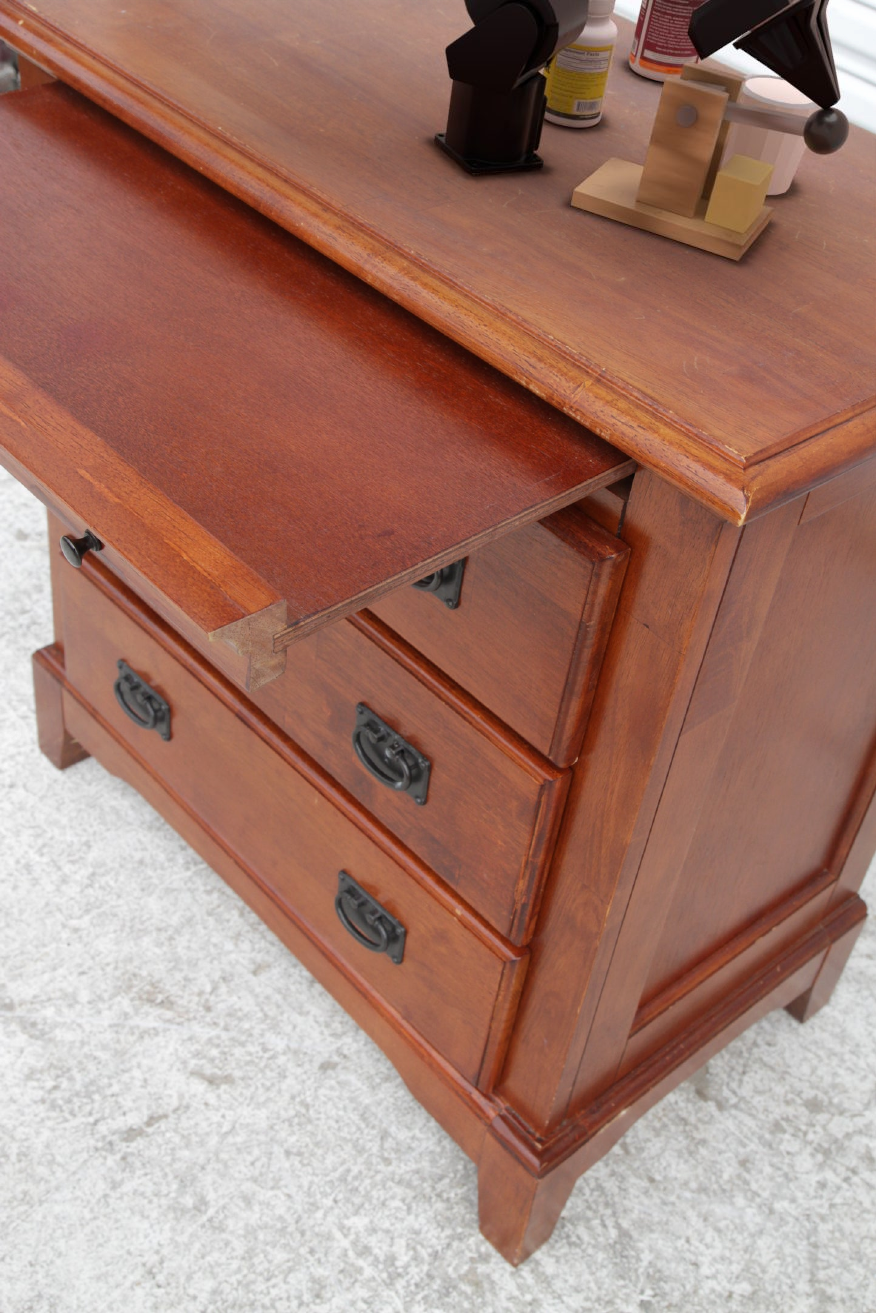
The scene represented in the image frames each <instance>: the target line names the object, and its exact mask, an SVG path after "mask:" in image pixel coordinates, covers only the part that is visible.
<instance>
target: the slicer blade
mask: <svg viewBox="0 0 876 1313" xmlns="http://www.w3.org/2000/svg"><path fill="white" fill-rule="evenodd" d="M687 81H689V82H692V83H695V84H699V85H702V86H705V87H709V88H712V89H715V90H719V91H722V92H725V91H726V87H724V86H719V85H714V84H709V83H704V82H699V81H694V80H689V79H688V80H687ZM722 120H726V121H731V122H735V123H740V124H745V125H750V126H755V127H760V128H764V129H769V130H774V131H779V132H784V133H788V134H793V135H798V136H803V138H804V141H805V144H806V145H807V146H806V148H808V149H809V150H810V151H811V152H812V153H813V154H816V155H820V156H826V155H832V154H834V153H836V152H838V151H839V150H840V149H841V148H842V147H843V146H844V145H845V143H846V142H847V140H848V137H849V136H850V122H849V119H848V117H847V115H846V114H845V113H844V112H843V111H841V109H838V108H837V107H833V106H831V107H830V108H828V109H822V108H821V109H818V110H817V111H815V112H814V113H812V114H811V115H810V116H809V117H805V116H800V115H795V114H790V113H785V112H780V111H775V110H770V109H765V108H761V107H756V106H751V105H746V104H741V103H736V102H731V101H727V104H726V108H725V112H724V115H723V119H722Z"/></svg>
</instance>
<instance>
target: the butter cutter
mask: <svg viewBox="0 0 876 1313" xmlns="http://www.w3.org/2000/svg"><path fill="white" fill-rule="evenodd" d="M688 79H689V80H694V81H699V82H704V83H709V84H714V85H719V86H724V87H726V91H725V92H722V91H719V90H715V89H712V88H709V87H705V86H702V85H699V84H695V83H692V82H689V81H687V80H688ZM745 81H746V78H743V77H742V76H739V75H737V74H732V73H729V72H726V71H723V70H719V69H716V68H712V67H709V66H706V65H703V64H699V63H698V64H696V63H693V62H689V61H687V62H686V63H685V64H684V65H683V68H682V72H681V76H680V79H679V78H675V77H672V76H669V77H667V78H666V79H665V81H664V82H663V86H662V90H661V94H660V98H659V102H658V106H657V111H656V115H655V119H654V123H653V127H652V132H651V135H650V141H649V142H648V143H649V144H648V147H647V152H646V156H645V160H644V165H640V164H637V163H634V162H632V161H628V160H625V159H622V158H618V157H614V156H611V157H610V158H609V159H608V160H607V161H606V162H604V163H603V164H602V165H601V166H599V167H598V169H596V170H595V171H594V172H592V174H590V175H589V176H587V178H585V180H583V181H582V182H581V183H579V184H578V186H576V187H575V188H574V189H573V191H572V192H573V193H572V197H571V201H570V206H572V207H575V208H577V209H581V210H583V211H587V212H590V213H593V214H595V215H598V216H602V217H605V218H607V219H611V220H614V221H617V222H620V223H623V224H626V225H629V226H632V227H635V228H637V229H640V230H643V231H647V232H650V233H652V234H657V235H658V236H662V237H665V238H668V239H670V240H673V241H676V242H680V243H683V244H686V245H688V246H692V247H695V248H698V249H699V250H700V249H701V250H704V251H707V252H708V253H709V252H710V253H713V254H716V255H719V256H722V257H724V258H728V259H731V260H734V261H736V262H738V261H739V260H740V259H741V258H742V257H743V255H744V254H745V253H746V252H747V250H748V249H749V247H751V245H752V244H753V243H754V242H755V240H756V239H757V238H758V236H760V234H761V233H762V232H763V230H764V229H765V228H766V227H767V225H768V224H769V222H770V219H771V216H772V212H773V210H774V207H772V206H769V205H766V204H765V205H764V204H763V206H762V210H761V213H760V214H759V215H758V217H757V218H756V219H755V220H754V222H753V223H752V224H751V225H750V226H749V228H748V229H747V230H746V231H745V232H744V234H742V233H739V232H736V231H733V230H730V229H727V228H724V227H720V226H717V225H714V224H711V223H708V222H705V221H704V220H705V216H706V212H707V209H708V205H709V202H710V198H711V195H712V191H713V188H714V184H715V180H716V177H717V173H718V172H719V171H720V169H721V166H722V162H723V159H724V155H725V151H726V148H727V144H728V141H729V137H730V134H731V130H732V127H733V123H734V122H731V121H726V120H722V119H723V115H724V112H725V108H726V104H727V101H731V102H736V103H739V102H740V98H741V95H742V91H743V88H744V84H745Z"/></svg>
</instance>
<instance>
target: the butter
mask: <svg viewBox="0 0 876 1313" xmlns="http://www.w3.org/2000/svg"><path fill="white" fill-rule="evenodd" d="M774 168H775V166H774V165H770V164H767V163H764V162H761V161H758V160H754V159H751V158H748V157H745V156H742V155H738V154H735V155H734V156H733V157H732V158H731V159H730V160H729V161H728V162H727V163H726V165H725V166H724V167H723V168H722V169H721V170H720V171H719V172H718V173H717V177H716V180H715V184H714V188H713V191H712V195H711V198H710V202H709V205H708V209H707V212H706V216H705V220H704V221H705V222H708V223H711V224H714V225H717V226H720V227H724V228H727V229H730V230H733V231H736V232H739V233H742V234H744V232H745V231H746V230H747V229H748V228H749V226H750V225H751V224H752V223H753V222H754V220H755V219H756V218H757V217H758V215H759V214H760V213H761V210H762V206H763V205H764V202H765V200H766V197H767V195H766V193H767V190H768V187H769V184H770V181H771V177H772V174H773V171H774Z"/></svg>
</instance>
